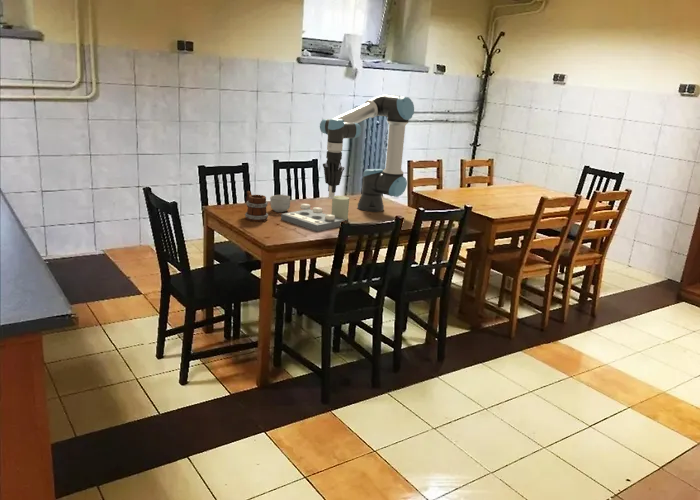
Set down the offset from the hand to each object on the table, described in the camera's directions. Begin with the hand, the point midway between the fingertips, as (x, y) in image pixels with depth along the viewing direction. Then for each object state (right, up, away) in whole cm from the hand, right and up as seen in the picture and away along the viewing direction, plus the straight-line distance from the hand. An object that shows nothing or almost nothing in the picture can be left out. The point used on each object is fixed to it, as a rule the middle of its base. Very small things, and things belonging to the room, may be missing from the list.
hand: (331, 198), depth 297 cm
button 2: (-1, -10, +3) cm, 11 cm away
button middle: (-7, -6, +8) cm, 13 cm away
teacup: (-29, -4, +27) cm, 40 cm away
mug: (-39, -10, +7) cm, 41 cm away
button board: (-10, -12, +8) cm, 17 cm away
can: (+4, -9, +19) cm, 22 cm away
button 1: (-14, -4, +14) cm, 20 cm away
